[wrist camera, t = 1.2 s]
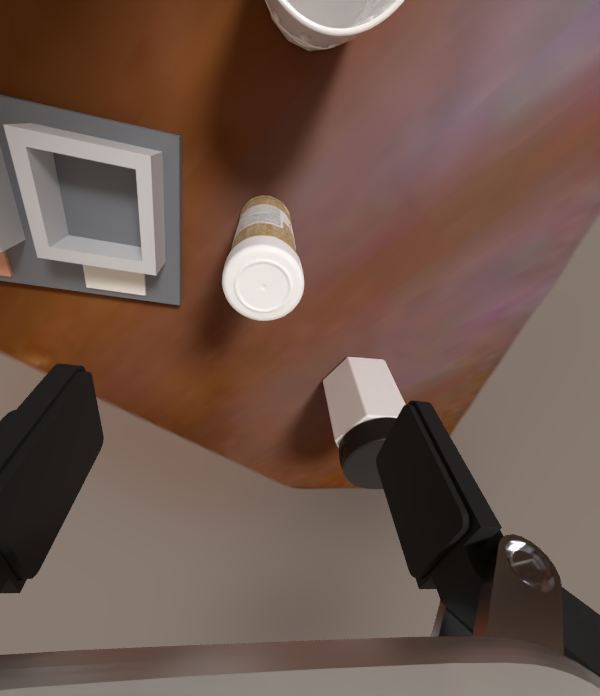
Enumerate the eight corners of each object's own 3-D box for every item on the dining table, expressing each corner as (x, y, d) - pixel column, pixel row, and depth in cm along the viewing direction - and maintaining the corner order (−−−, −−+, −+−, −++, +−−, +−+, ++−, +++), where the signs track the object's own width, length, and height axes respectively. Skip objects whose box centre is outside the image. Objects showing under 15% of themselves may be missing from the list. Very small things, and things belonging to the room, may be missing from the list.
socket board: (-183, 52, 21) (-267, 40, 17) (182, 135, 25) (168, 139, 21) (-82, 263, 28) (-127, 282, 25) (181, 300, 32) (172, 321, 29)
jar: (314, 367, 39) (329, 452, 29) (381, 344, 38) (420, 424, 28) (336, 414, 44) (356, 500, 34) (395, 395, 43) (433, 478, 33)
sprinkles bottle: (288, 249, 30) (300, 325, 19) (238, 245, 30) (222, 322, 19) (293, 195, 28) (309, 249, 17) (238, 190, 27) (218, 242, 16)
